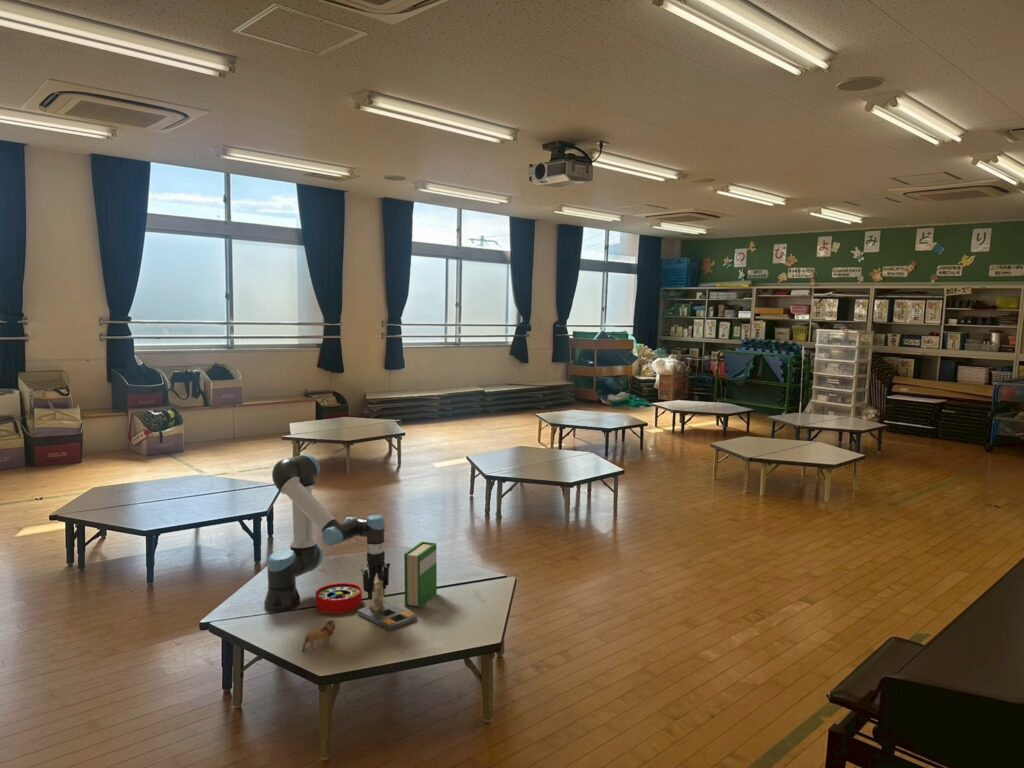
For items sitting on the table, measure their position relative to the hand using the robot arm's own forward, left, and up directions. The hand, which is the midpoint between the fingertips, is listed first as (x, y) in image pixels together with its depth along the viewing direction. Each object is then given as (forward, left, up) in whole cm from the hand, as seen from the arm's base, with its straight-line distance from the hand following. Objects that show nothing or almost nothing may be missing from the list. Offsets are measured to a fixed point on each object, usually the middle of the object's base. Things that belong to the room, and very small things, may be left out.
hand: (376, 604), depth 298 cm
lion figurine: (-34, -9, -4) cm, 35 cm away
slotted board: (0, -7, -4) cm, 8 cm away
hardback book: (+22, -3, -4) cm, 23 cm away
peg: (0, 0, -4) cm, 4 cm away
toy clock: (-6, +20, -4) cm, 21 cm away
